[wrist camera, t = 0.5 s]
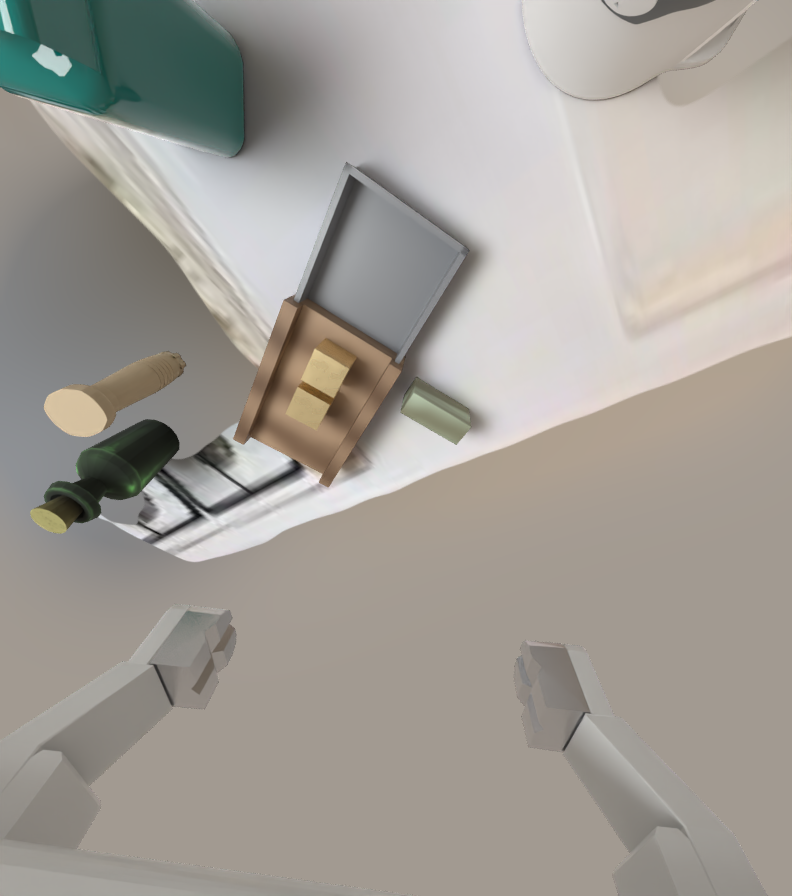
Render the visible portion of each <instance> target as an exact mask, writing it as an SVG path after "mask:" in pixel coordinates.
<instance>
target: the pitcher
mask: <svg viewBox="0 0 792 896" xmlns="http://www.w3.org/2000/svg"><path fill="white" fill-rule="evenodd" d="M0 87H1V88H3V89H4V90H5V91H7V92H9V93H11V94H13V95H16V96H19V97H23V98H26V99H29V100H32V101H36V102H39V103H42V104H46V105H49V106H52V107H56V108H59V109H62V110H65V111H69V112H72V113H75V114H79V115H82V116H85V117H89V118H92V119H95V120H99V121H102V122H105V123H108V124H112V125H115V126H118V127H122V128H125V129H128V130H132V131H135V132H138V133H142V134H145V135H148V136H151V137H155V138H158V139H161V140H165V141H168V142H171V143H175V144H178V145H182V146H186V147H189V148H193V149H196V150H200V151H204V152H207V153H211V154H215V155H218V156H222V157H225V158H228V157H232V156H235V155H236V154H237V153H238V151H239V150H240V149H241V147H242V144H243V141H244V98H243V61H242V58H241V54H240V51H239V48H238V46H237V44H236V43H235V41H234V39H233V37H232V36H231V34H230V33H228V32H227V31H226V30H225V29H224V28H223V27H222V26H221V25H220V24H218V23H217V22H216V21H215V20H214V19H213V18H212V17H211V16H210V15H208V14H207V13H206V12H205V11H204V10H203V9H202V8H201V7H200V6H198V5H197V4H196V3H195V2H194V1H193V0H0Z"/></svg>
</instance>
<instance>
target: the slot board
mask: <svg viewBox="0 0 792 896" xmlns="http://www.w3.org/2000/svg"><path fill="white" fill-rule="evenodd" d="M295 295H296V294H295ZM295 295H293V296H291V297H289V298H287V299H285V300H284V301H283V303H282V306H281V309H280V312H279V314H278V317H277V320H276V323H275V325H274V328H273V331H272V334H271V336H270V339H269V342H268V345H267V347H266V350H265V353H264V356H263V358H262V361H261V364H260V367H259V369H258V372H257V375H256V378H255V380H254V383H253V386H252V389H251V391H250V394H249V397H248V400H247V402H246V405H245V408H244V411H243V414H242V416H241V419H240V422H239V424H238V427H237V430H236V432H235V435H234V438H233V440H235V441H237V442H239V443H241V444H243V445H244V444H245V443H246V442H247V441H248V439H249V438H250V437H252V438H254V439H256V440H258V441H260V442H262V443H264V444H266V445H267V446H269V447H271V448H273V449H275V450H277V451H279V452H281V453H283V454H285V455H287V456H289V457H291V458H293V459H295V460H297V461H299V462H301V463H303V464H305V465H307V466H309V467H311V468H312V469H314V470H316V471H318V472H320V473H322V474H323V475H322V477H321V479H320V481H319V483H321V484H323V485H325V486H327V487H329V486H330V484H331V483H332V481H333V479H334V478H335V476H336V475H337V473H338V472H339V470H340V468H341V467H342V465H343V464H344V462H345V460H346V459H347V457H348V456H349V454H350V452H351V451H352V449H353V448H354V446H355V445H356V443H357V441H358V440H359V438H360V437H361V435H362V433H363V432H364V430H365V429H366V427H367V425H368V424H369V422H370V421H371V419H372V418H373V416H374V414H375V413H376V411H377V410H378V408H379V406H380V405H381V403H382V402H383V400H384V399H385V397H386V395H387V394H388V392H389V391H390V389H391V387H392V386H393V384H394V383H395V381H396V379H397V378H398V376H399V375H400V373H401V372H402V368H403V364H404V361H405V356H404V357H403V359H402V360H401V362H400V364H398V363H396V362H395V359H396V356H397V353H396V352H394V351H392V350H391V349H389V348H388V347H386V346H384V345H383V344H381V343H379V342H378V341H376V340H375V339H373V338H371V337H370V336H368V335H366V334H365V333H363V332H362V331H360V330H358V329H357V328H355V327H353V326H352V325H350V324H349V323H347V322H345V321H344V320H342V319H340V318H339V317H337V316H336V315H334V314H332V313H331V312H329V311H327V310H326V309H324V308H323V307H321V306H319V305H318V304H316V303H314V302H313V301H311V300H310V299H308V298H307V299H305V300H304V301H302V302H300V303H298V302H296V301H294V298H295ZM325 338H327V339H328V340H330V341H332V342H333V343H335V344H337V345H338V346H340V347H342V348H343V349H345V350H347V351H348V352H350V353H352V354H353V355H355V356H357V358H356V360H355V361H354V363H353V365H352V367H351V369H350V371H349V373H348V375H347V376H346V378H345V380H344V382H343V384H342V386H341V387H340V389H339V390H338V393H337V395H336V397H335V399H334V401H333V403H332V405H331V406H330V408H329V410H328V412H327V414H326V416H325V417H324V419H323V421H322V422H321V424H320V426H319V427H318V429H317V431H316V430H314V429H312V428H310V427H309V426H307V425H305V424H303V423H301V422H299V421H297V420H296V419H294V418H292V417H290V416H288V415H286V411H287V409H288V407H289V405H290V403H291V400H292V398H293V396H294V394H295V391H296V389H297V387H298V386H299V385H300V384H301V382H302V380H301V378H302V376H303V374H304V371H305V369H306V367H307V365H308V363H309V360H310V358H311V356H312V354H313V352H314V349H315V348H316V347H317V346H318V345H319V344H320V343H321V342H322V341H323V340H324V339H325Z"/></svg>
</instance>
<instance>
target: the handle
mask: <svg viewBox="0 0 792 896" xmlns="http://www.w3.org/2000/svg"><path fill="white" fill-rule="evenodd" d="M185 366H186V363H185V362H184V361H183V360H182V358H181V356H180V355H179V354H177V353H171V352H169V351H166V352H162V353H159V354H157V355H153V356H150V357H147V358H144V359H141V360H139V361H137V362H134V363H132V364H130V365H128V366H127V367H125V368H123V369H121V370H119V371H117V372H115V373H114V374H112V375H110V376H108V377H106V378H105V379H102V380H101V381H99V382H97V383H95V384H93V385H91V386H88V385H81V384H80V385H79V384H74V385H69V386H67V387H64V388H62V389H60V390H58V391H55V392H53V393H51V394H50V395H48V397H47V398H46V401H45V405H44V410H45V412H46V414H47V415H48V417H49V418H50V419H51V420H52V421H53V422H54V423H55V424H56V425H57V426H58V427H59V428H60V429H62V430H63V431H64V432H66V433H68V434H70V435H73V436H82V437H89V436H92V435H95V434H97V433H99V432H101V431H103V430H105V429H107V428H108V427H110V425H111V424H112V423H113V421H114V419H115V417H116V412H117V411H119V410H121V409H123V408H125V407H127V406H129V405H131V404H133V403H135V402H137V401H140V400H142V399H144V398H146V397H148V396H150V395H152V394H154V393H156V392H157V391H159V390H161V389H162V388H164V387H165V386H167V385H168V384H170V383H171V382H172V381H174V380H175V379H176V378H177V377H179V376H180V375H181V374H182V373H183V368H184V367H185Z"/></svg>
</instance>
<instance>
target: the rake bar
mask: <svg viewBox="0 0 792 896" xmlns="http://www.w3.org/2000/svg"><path fill="white" fill-rule="evenodd" d="M400 413H402V414H404V415H406V416H407V417H409V418H411V419H412V420H414V421H416V422H418V423H419V424H421V425H423V426H425V427H426V428H428V429H430V430H431V431H433V432H435V433H437V434H438V435H440V436H442V437H444V438H445V439H447V440H449V441H450V442H452V443H454V444H456V445H457V443H458V442H459V441H460V440H461V439H462V438H463V436H464V435H465V434H466V433H467V432H468V430H469V429H470V428H471V422H470V415H469V409H468V408H467V407H465V406H463V405H462V404H460V403H458V402H457V401H455V400H453V399H452V398H450V397H448V396H447V395H445V394H444V393H442V392H440V391H439V390H437V389H435V388H434V387H432V386H430V385H429V384H427V383H425V382H424V381H422V380H420V379H419V378H417V377H416V378H415V380H414V381H413V383H412V384H411V386H410V387H409V389H408V390H407V392H406V393H405V395H404V398H403V403H402V408H401V412H400Z"/></svg>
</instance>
